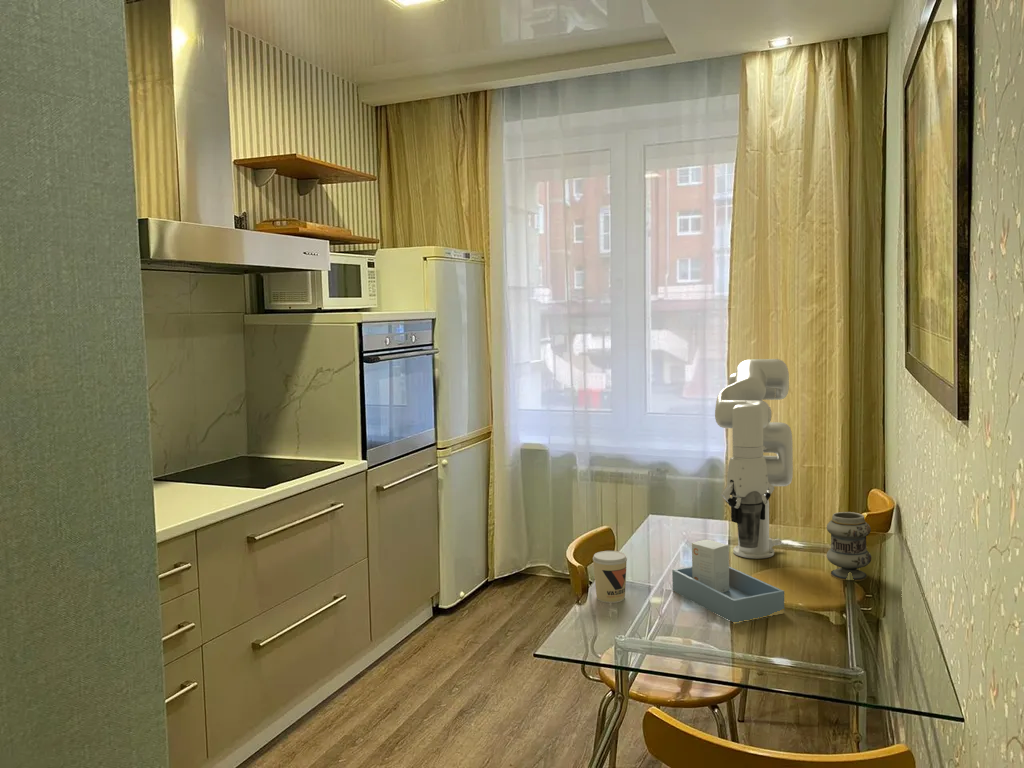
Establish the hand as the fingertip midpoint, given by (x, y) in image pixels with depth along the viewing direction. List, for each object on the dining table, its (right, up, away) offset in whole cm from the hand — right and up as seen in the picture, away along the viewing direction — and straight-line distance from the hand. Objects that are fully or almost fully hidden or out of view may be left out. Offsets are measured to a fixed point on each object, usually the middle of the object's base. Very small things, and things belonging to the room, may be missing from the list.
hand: (748, 520), depth 209 cm
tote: (-4, -23, +9) cm, 25 cm away
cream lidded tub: (-34, -24, +14) cm, 44 cm away
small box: (-6, -22, +15) cm, 27 cm away
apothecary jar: (+37, -21, +26) cm, 50 cm away
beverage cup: (0, -7, +1) cm, 7 cm away
